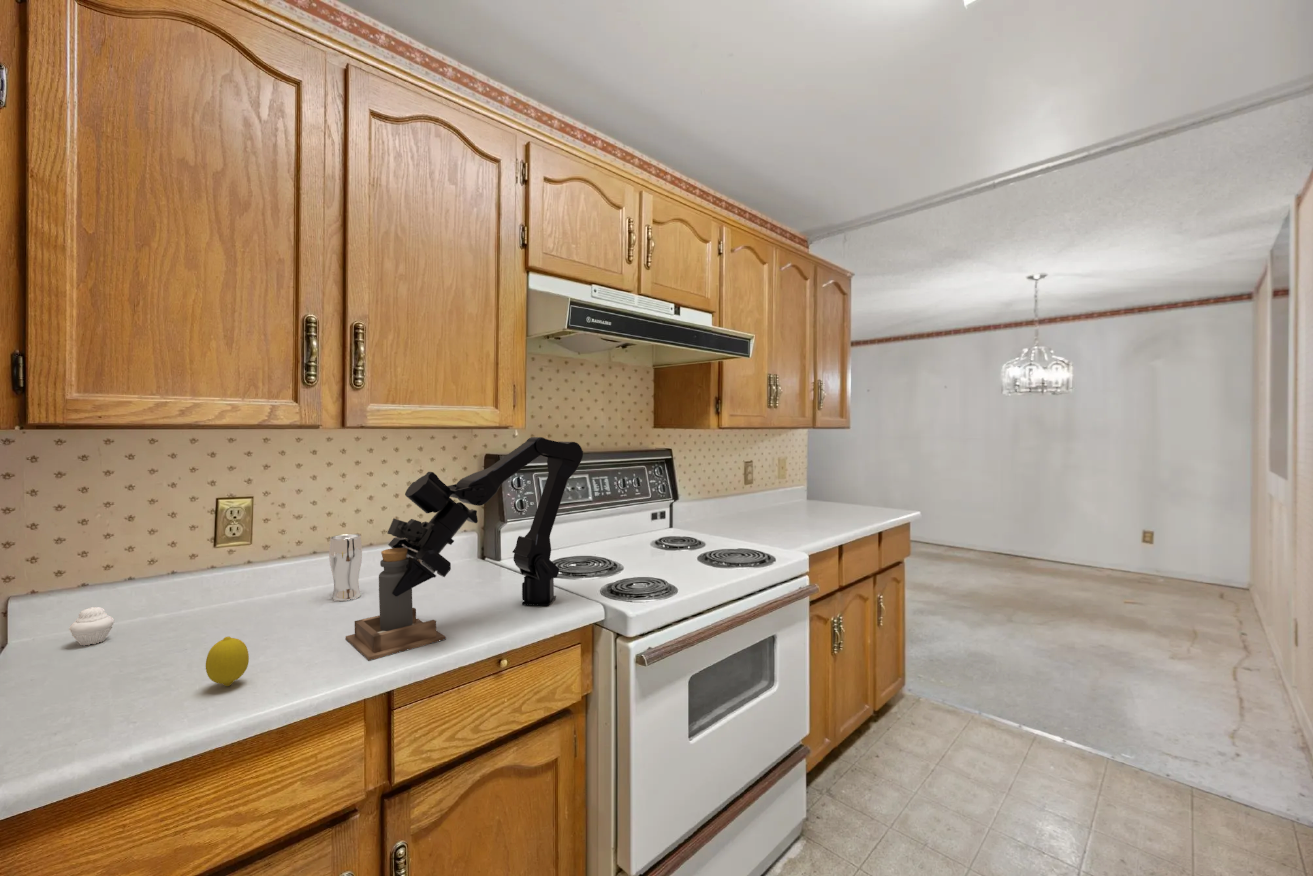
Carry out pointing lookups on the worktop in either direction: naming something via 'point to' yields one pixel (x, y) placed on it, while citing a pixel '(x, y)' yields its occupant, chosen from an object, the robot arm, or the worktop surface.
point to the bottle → (392, 607)
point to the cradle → (391, 637)
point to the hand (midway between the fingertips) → (388, 591)
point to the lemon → (227, 661)
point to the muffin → (91, 626)
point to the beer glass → (345, 565)
